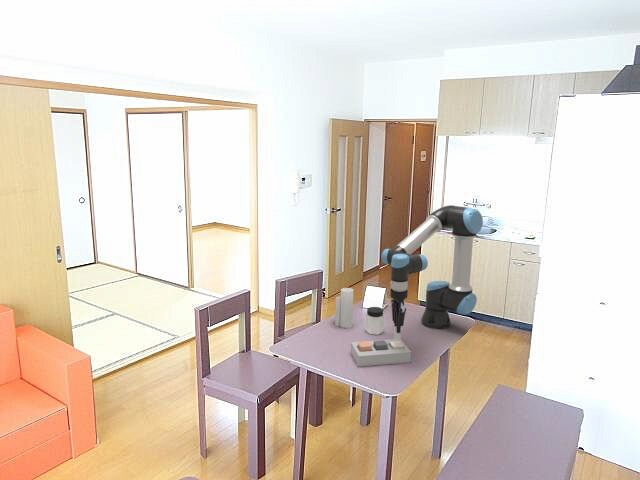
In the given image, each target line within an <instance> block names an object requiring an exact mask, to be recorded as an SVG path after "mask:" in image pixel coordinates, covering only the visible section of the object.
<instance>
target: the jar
mask: <svg viewBox="0 0 640 480" xmlns="http://www.w3.org/2000/svg"><path fill="white" fill-rule="evenodd" d="M384 320H385V314H384V309H383V308H382V307H378V306H370V307H368V308H367V309H366V314H365V331H366V332H367V334H370V335H375V336H376V335H377V336H378V335H380V334H382V333H383V332H384V325H385V321H384Z"/></svg>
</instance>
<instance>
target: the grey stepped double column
mask: <svg viewBox="0 0 640 480" xmlns="http://www.w3.org/2000/svg"><path fill="white" fill-rule="evenodd" d="M334 308H335V311H334V313H335V314H334V326H336V327H341V328H343V329H350V328H353V326H354V325H353V319H354V289H353V288H351V287H343V288H341V289H340V296H336V297H335V305H334Z"/></svg>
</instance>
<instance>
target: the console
mask: <svg viewBox="0 0 640 480" xmlns="http://www.w3.org/2000/svg"><path fill="white" fill-rule="evenodd" d="M381 340H382V339H379V340H378V339H376V341H381ZM383 340H384V341H385V342H386V343H387V345H388V350H376V349H375V348H374V341H375V340H366V341H364V340H363V342H368V341H369V343H370V344H371V346H372V351H364V352H360V351H359V349H358V342H359V341H355V342H354V341H352V342H350V354H351V356H352V358H353V359H354V361H355V363H356V364H357V366H358V367H359V368H361V367H369V366H370V367H371V366H382V365H393V364H394V365H395V364H406V363H407V364H408V363H412V351H411V349H410V348H409V347H408V346H407V345H406V344H405V343H404V341H403V340H402V339H394V338H391V339H383ZM394 341H400V342H401V343H402V344H403V346H404V348H402V349H392V348H391V347H390V346H389V342H394Z"/></svg>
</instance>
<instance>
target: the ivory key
mask: <svg viewBox="0 0 640 480" xmlns="http://www.w3.org/2000/svg"><path fill="white" fill-rule="evenodd" d="M389 346H390V347H391V348H392V349H402V348H404V346H403V344H402V343H401V342H400V341H394V342H389Z"/></svg>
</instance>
